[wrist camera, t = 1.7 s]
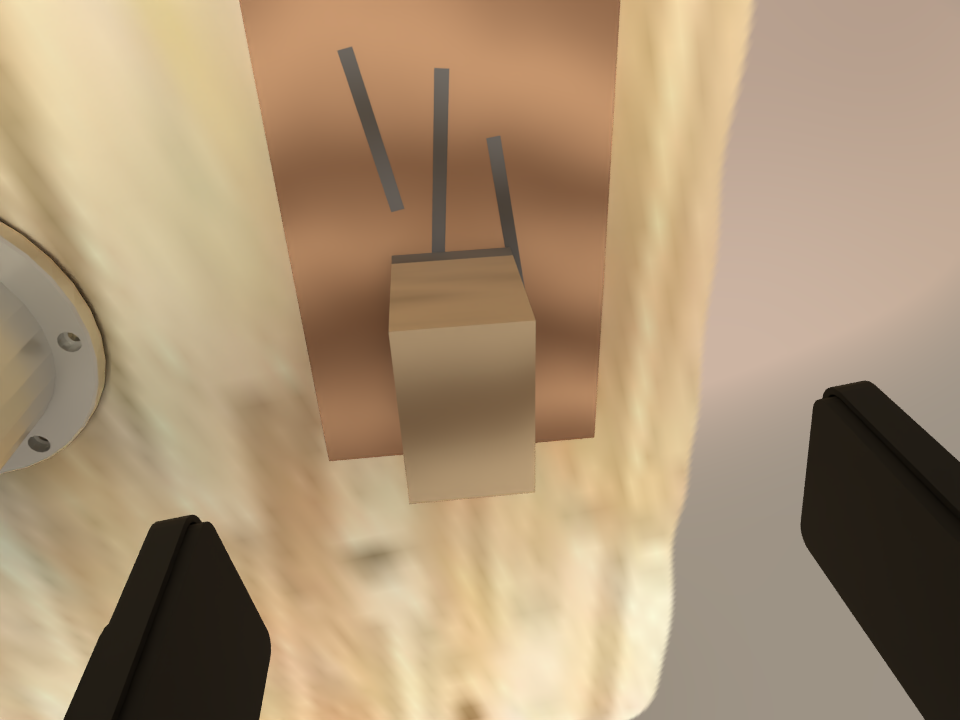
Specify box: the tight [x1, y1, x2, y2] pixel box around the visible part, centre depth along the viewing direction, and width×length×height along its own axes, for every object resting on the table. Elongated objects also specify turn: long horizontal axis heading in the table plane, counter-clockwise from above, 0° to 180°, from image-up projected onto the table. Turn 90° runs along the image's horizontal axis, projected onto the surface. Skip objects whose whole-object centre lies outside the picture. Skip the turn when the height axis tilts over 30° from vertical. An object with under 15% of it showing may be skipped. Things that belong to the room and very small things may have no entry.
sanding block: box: [389, 247, 536, 504], centre depth 25 cm, size 7×4×6 cm, turn 2°
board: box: [239, 0, 620, 461], centre depth 25 cm, size 24×12×2 cm, turn 2°
